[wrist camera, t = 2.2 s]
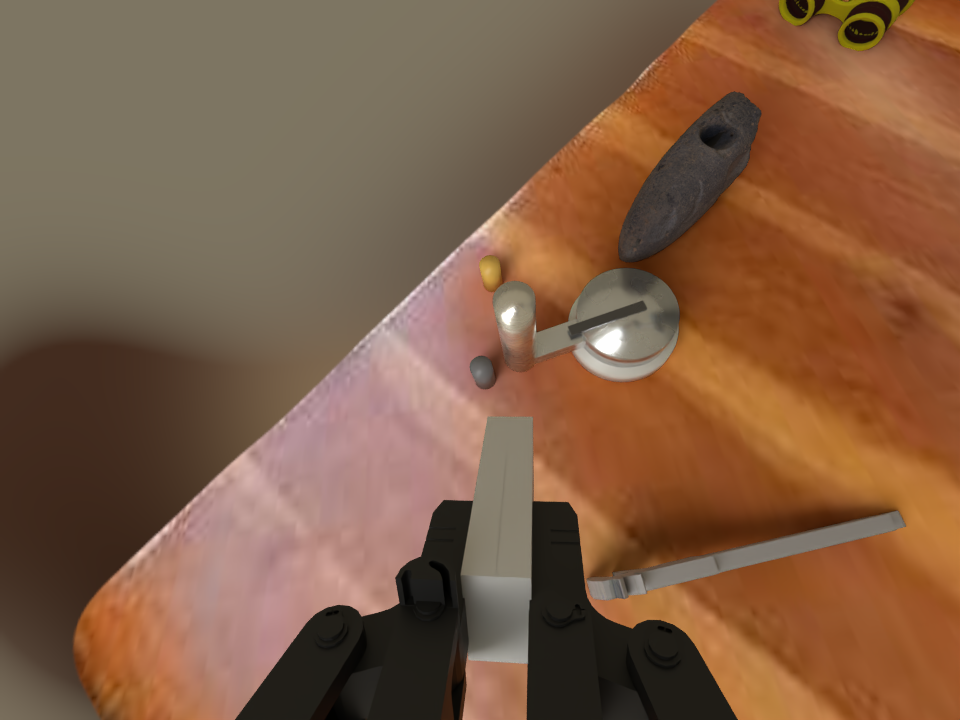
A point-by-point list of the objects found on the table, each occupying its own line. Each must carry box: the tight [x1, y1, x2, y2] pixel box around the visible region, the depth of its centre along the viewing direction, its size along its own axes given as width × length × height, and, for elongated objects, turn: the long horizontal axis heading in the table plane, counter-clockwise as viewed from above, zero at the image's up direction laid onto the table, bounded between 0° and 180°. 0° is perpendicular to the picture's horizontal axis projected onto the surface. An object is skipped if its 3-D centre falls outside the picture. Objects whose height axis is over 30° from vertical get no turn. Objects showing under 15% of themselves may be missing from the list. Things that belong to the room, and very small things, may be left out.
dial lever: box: [493, 268, 680, 372], centre depth 32 cm, size 13×7×9 cm, turn 108°
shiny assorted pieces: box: [470, 255, 679, 389], centre depth 38 cm, size 16×13×3 cm
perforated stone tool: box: [618, 91, 761, 262], centre depth 38 cm, size 15×5×7 cm, turn 136°
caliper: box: [587, 511, 906, 600], centre depth 29 cm, size 20×1×6 cm, turn 102°
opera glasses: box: [779, 0, 915, 51], centre depth 45 cm, size 10×5×5 cm, turn 46°
